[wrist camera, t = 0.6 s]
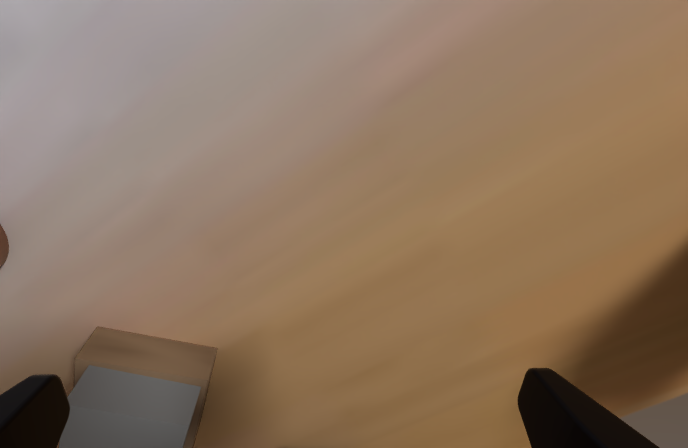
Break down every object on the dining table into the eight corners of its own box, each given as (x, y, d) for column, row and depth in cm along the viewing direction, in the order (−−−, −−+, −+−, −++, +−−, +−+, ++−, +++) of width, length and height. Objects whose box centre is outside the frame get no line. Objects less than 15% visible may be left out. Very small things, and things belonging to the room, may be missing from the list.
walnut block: (202, 416, 28) (190, 457, 26) (95, 400, 27) (71, 442, 24) (219, 342, 25) (208, 380, 23) (101, 321, 24) (74, 358, 21)
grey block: (182, 451, 25) (169, 493, 23) (80, 435, 24) (55, 477, 22) (201, 386, 23) (188, 426, 21) (89, 364, 22) (63, 403, 19)
